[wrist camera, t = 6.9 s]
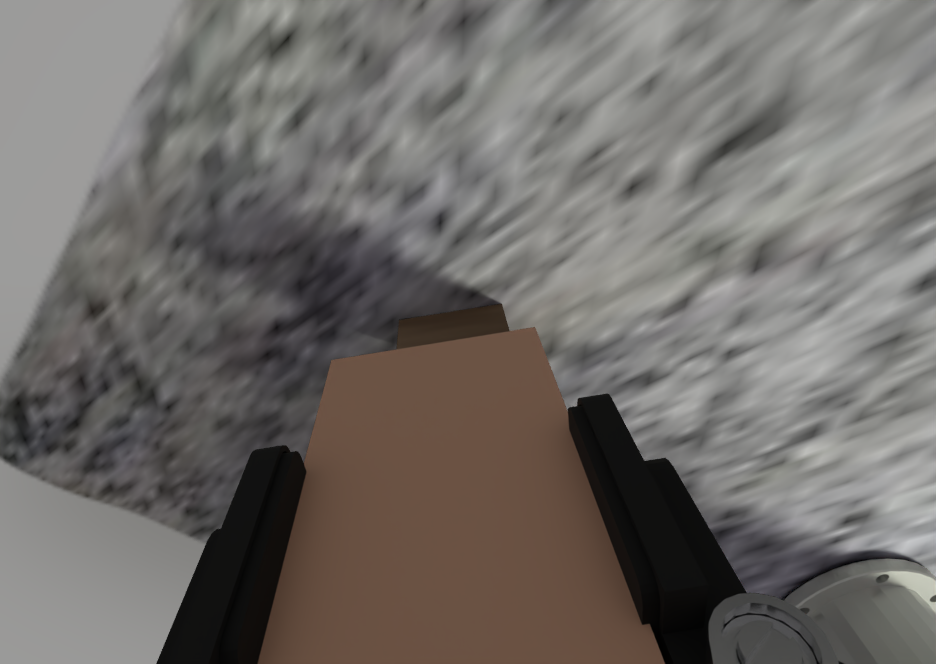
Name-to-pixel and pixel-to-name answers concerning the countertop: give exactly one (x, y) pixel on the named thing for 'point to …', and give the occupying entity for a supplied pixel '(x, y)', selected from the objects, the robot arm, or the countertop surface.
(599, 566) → the terracotta domino
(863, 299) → the countertop surface
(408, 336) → the walnut domino
